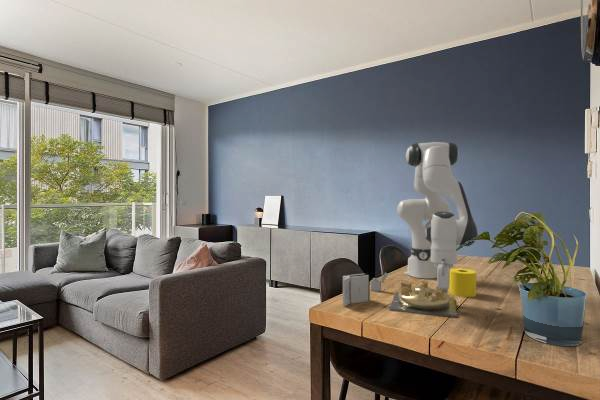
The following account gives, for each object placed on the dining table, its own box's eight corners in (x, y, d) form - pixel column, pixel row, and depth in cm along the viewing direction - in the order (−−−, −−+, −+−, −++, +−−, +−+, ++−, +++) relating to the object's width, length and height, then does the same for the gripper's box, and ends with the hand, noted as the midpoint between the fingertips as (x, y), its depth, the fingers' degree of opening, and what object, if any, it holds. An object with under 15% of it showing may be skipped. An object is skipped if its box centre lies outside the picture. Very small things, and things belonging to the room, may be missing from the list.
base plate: (395, 293, 144) (395, 291, 144) (453, 299, 136) (453, 296, 136) (389, 310, 124) (389, 307, 124) (457, 317, 116) (457, 315, 116)
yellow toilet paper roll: (479, 297, 138) (479, 274, 138) (452, 296, 140) (452, 273, 140) (472, 290, 148) (472, 268, 148) (447, 289, 150) (447, 268, 150)
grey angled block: (370, 290, 149) (370, 272, 149) (371, 289, 151) (371, 271, 151) (387, 292, 147) (387, 273, 146) (388, 291, 148) (388, 272, 148)
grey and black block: (344, 307, 128) (344, 279, 127) (335, 303, 132) (334, 277, 132) (371, 300, 135) (371, 274, 135) (361, 297, 140) (361, 272, 140)
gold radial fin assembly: (434, 294, 140) (434, 280, 140) (459, 308, 122) (459, 292, 122) (391, 295, 138) (391, 281, 138) (410, 310, 120) (410, 294, 120)
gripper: (453, 263, 115) (453, 304, 115) (453, 252, 134) (453, 288, 134) (432, 262, 117) (432, 302, 118) (435, 251, 136) (435, 286, 137)
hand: (443, 294), depth 126 cm, fingers closed
